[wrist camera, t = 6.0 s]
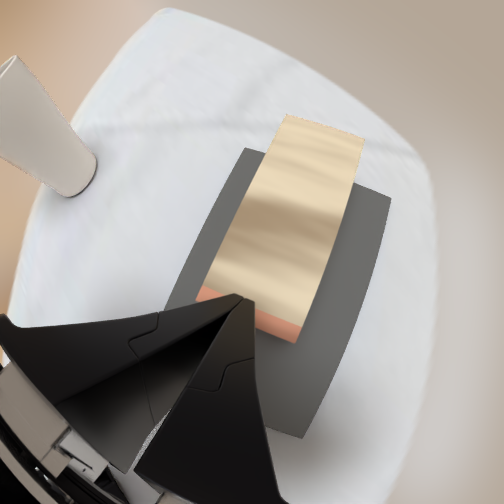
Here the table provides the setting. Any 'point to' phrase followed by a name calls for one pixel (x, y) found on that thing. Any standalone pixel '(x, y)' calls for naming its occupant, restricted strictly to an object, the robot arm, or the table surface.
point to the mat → (321, 310)
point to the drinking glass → (40, 133)
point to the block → (287, 225)
